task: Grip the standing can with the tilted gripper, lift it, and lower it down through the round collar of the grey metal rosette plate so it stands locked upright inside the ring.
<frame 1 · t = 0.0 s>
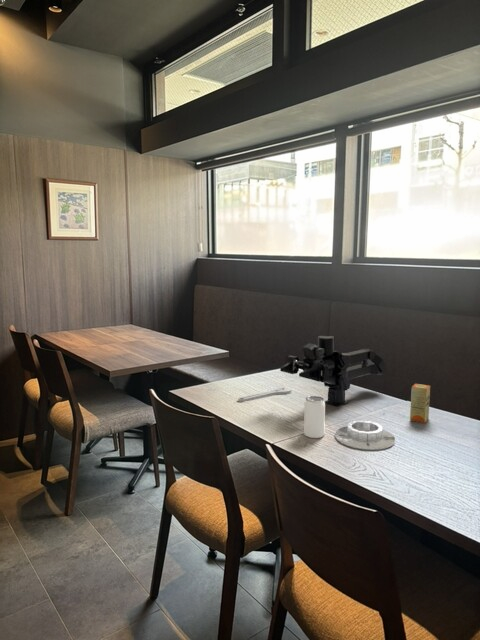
hand: (289, 372, 164), 17 cm above the table, tool horizontal, fingers open, 9 cm apart
rosette: (364, 438, 148), on the table
can: (314, 435, 151), on the table
adjustable wrench: (264, 396, 192), on the table
shoe polish box: (419, 420, 164), on the table
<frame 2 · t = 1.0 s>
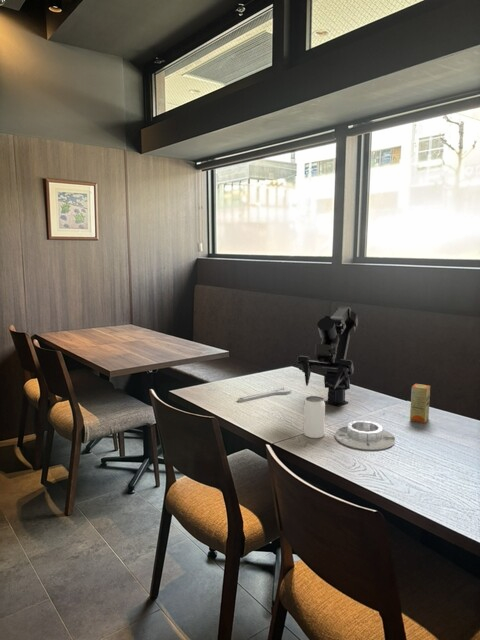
hand: (320, 386, 156), 14 cm above the table, tool tilted 45°, fingers open, 9 cm apart
nothing on the table moved.
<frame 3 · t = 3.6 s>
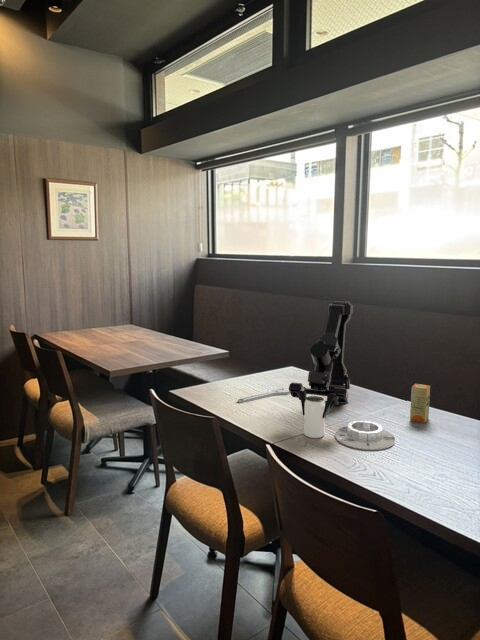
hand: (313, 416, 149), 7 cm above the table, tool tilted 45°, fingers closed on can, 6 cm apart
can: (314, 435, 151), on the table, touching gripper
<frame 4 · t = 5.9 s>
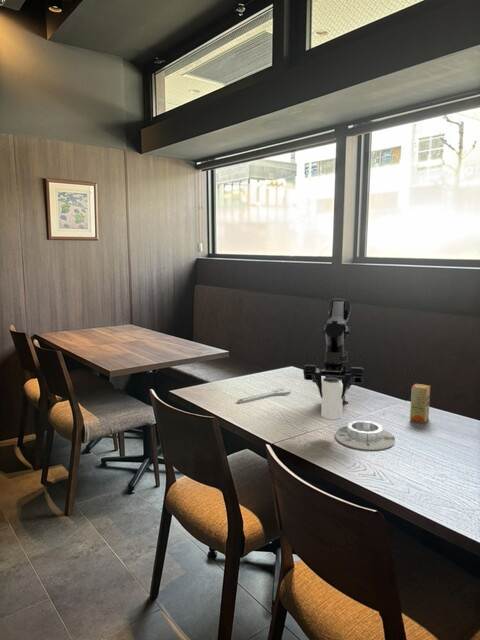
hand: (331, 397, 146), 13 cm above the table, tool tilted 45°, fingers closed on can, 6 cm apart
can: (331, 417, 148), point 6 cm above the table, touching gripper
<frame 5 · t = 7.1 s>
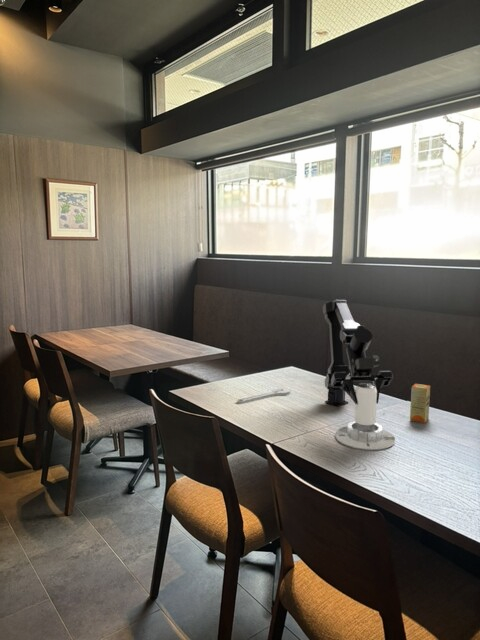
hand: (366, 403, 145), 12 cm above the table, tool tilted 45°, fingers closed on can, 6 cm apart
can: (364, 422, 147), point 5 cm above the table, touching gripper
when the fingers open (9 cm above the table, at t = 8.2 s): can drops 1 cm, resting on rosette.
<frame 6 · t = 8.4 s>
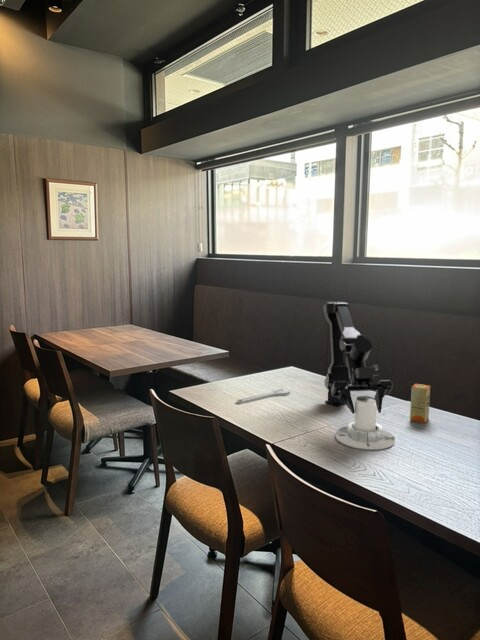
hand: (366, 412, 145), 9 cm above the table, tool tilted 45°, fingers open, 8 cm apart
can: (364, 436, 148), point 1 cm above the table, touching rosette
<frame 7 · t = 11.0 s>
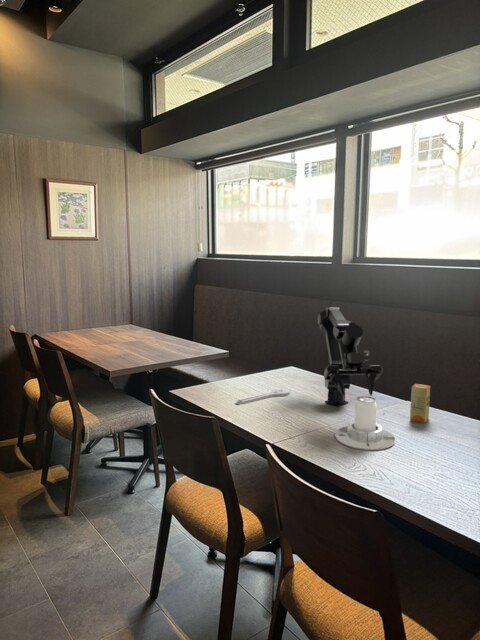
hand: (357, 395, 154), 12 cm above the table, tool tilted 45°, fingers open, 9 cm apart
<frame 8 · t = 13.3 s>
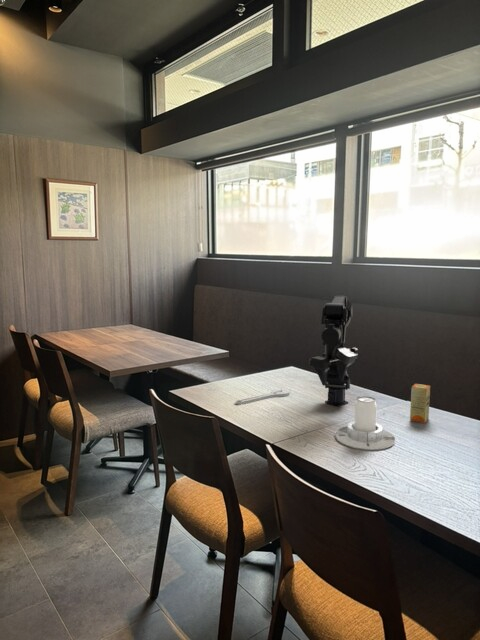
hand: (332, 382, 167), 12 cm above the table, tool pointing down, fingers open, 9 cm apart
at the end: can 0.2 cm off-centre on the rosette, point 0.6 cm above the rosette's base; can tilted 0°; the gripper is holding nothing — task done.
